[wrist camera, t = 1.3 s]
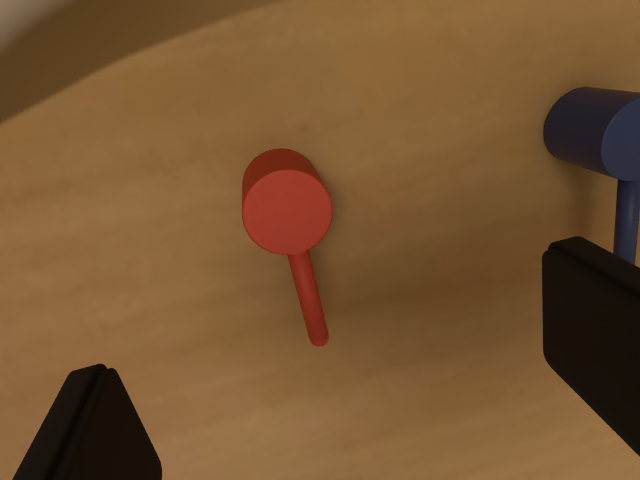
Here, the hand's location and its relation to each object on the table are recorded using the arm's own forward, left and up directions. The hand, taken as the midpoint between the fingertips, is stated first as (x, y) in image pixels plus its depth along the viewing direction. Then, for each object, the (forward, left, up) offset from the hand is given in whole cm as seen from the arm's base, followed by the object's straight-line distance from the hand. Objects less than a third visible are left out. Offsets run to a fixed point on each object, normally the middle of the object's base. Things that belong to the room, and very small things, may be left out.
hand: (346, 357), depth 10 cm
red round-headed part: (+3, +2, -16) cm, 16 cm away
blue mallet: (-9, +14, -16) cm, 23 cm away
